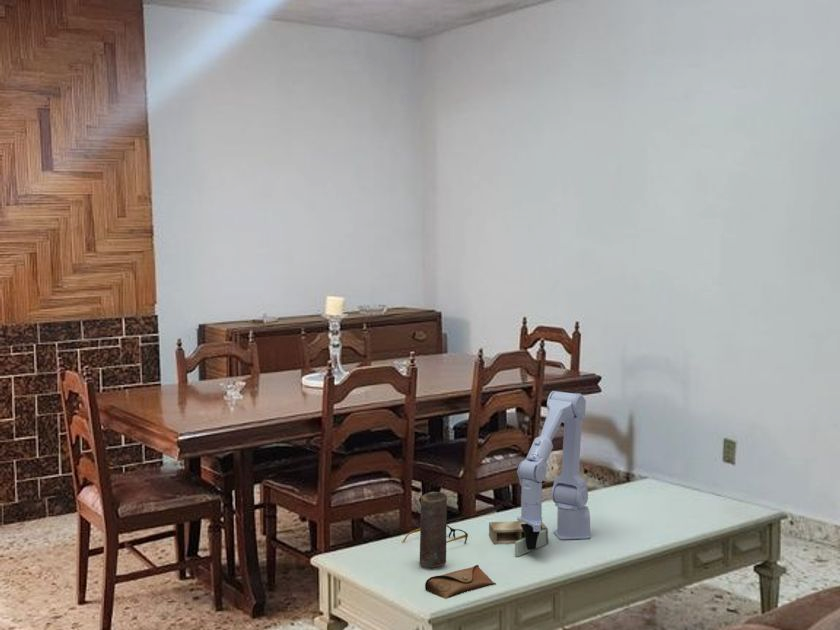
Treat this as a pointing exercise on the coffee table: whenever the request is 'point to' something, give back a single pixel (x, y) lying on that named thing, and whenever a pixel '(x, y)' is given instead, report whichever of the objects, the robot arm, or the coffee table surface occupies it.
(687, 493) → the coffee table surface
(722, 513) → the coffee table surface
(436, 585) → the sunglasses case
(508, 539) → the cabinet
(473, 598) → the coffee table surface
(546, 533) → the sage green panel
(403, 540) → the eyeglasses
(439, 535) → the candle
